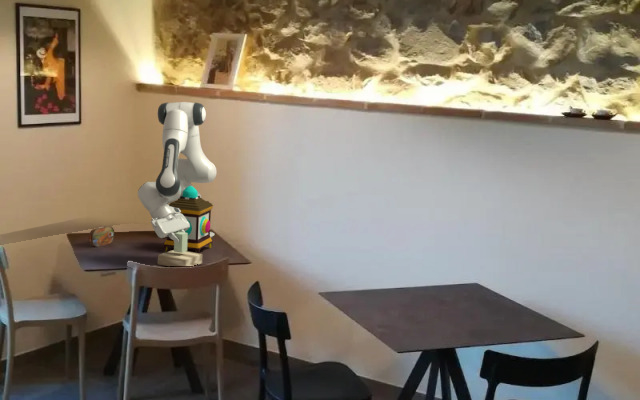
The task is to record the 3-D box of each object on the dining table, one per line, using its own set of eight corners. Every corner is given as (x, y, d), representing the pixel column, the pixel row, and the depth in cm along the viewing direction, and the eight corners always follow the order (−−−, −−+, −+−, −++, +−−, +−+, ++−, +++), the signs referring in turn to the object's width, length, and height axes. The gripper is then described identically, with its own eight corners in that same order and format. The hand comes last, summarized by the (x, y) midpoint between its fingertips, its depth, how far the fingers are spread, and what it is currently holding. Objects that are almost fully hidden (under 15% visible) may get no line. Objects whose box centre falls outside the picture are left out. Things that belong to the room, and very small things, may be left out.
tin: (92, 248, 349) (93, 230, 348) (87, 247, 351) (87, 229, 349) (115, 242, 363) (115, 225, 361) (109, 241, 364) (110, 224, 363)
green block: (179, 249, 334) (179, 231, 333) (187, 251, 333) (187, 232, 331) (173, 251, 331) (174, 233, 329) (181, 252, 329) (182, 234, 328)
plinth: (175, 258, 341) (175, 249, 340) (202, 263, 336) (202, 254, 335) (157, 264, 329) (157, 255, 329) (185, 269, 324) (185, 260, 323)
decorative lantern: (159, 252, 350) (160, 186, 345) (176, 243, 369) (178, 181, 364) (200, 257, 346) (202, 191, 341) (216, 247, 365) (218, 185, 360)
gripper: (153, 214, 322) (172, 241, 320) (181, 207, 341) (199, 232, 339) (144, 223, 325) (163, 249, 322) (172, 216, 343) (190, 241, 341)
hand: (182, 241), depth 331 cm, fingers closed on green block, 4 cm apart
